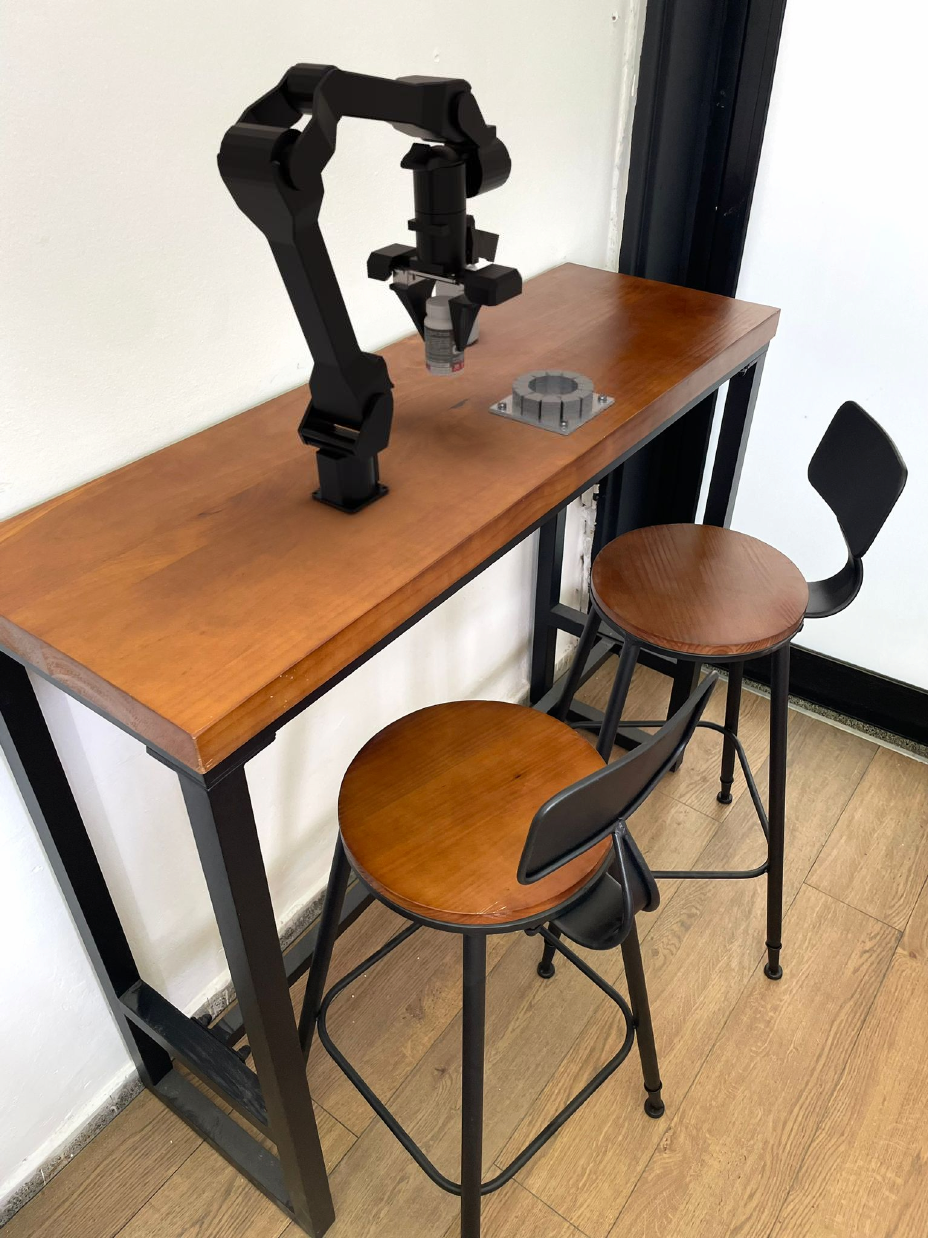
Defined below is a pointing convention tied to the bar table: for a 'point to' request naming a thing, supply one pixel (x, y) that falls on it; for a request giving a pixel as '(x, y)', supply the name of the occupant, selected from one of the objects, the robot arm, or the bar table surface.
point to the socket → (552, 400)
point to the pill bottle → (441, 339)
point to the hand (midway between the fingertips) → (444, 346)
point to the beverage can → (453, 290)
